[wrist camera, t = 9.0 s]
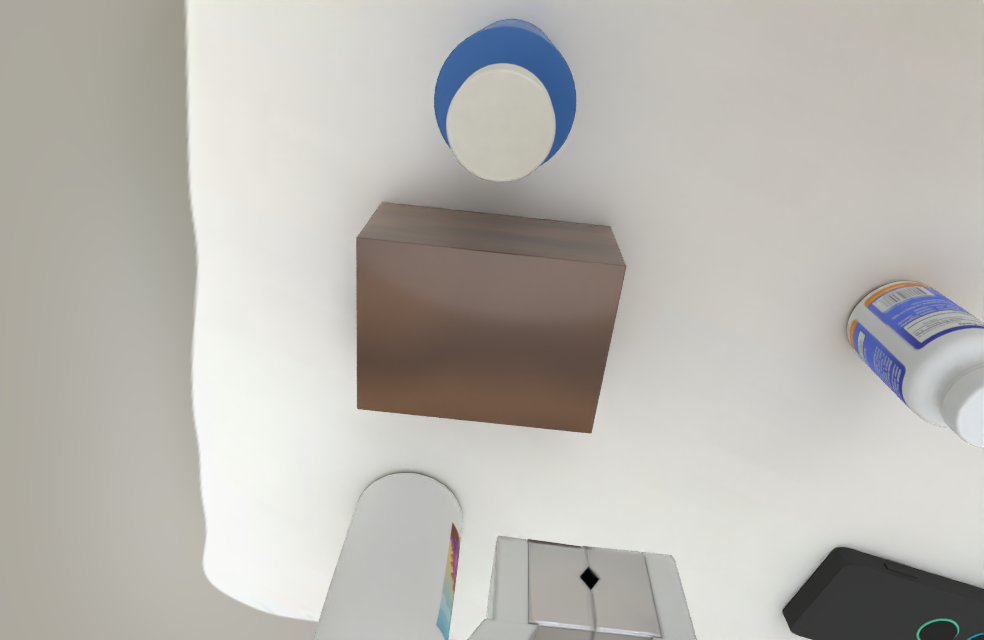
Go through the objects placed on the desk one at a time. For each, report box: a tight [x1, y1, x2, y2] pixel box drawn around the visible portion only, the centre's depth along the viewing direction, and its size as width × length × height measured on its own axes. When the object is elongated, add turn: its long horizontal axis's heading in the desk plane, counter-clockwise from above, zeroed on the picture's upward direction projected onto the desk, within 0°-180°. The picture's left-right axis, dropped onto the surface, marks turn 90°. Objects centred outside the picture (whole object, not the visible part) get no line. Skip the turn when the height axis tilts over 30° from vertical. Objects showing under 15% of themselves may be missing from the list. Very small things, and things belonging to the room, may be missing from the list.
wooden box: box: [357, 202, 626, 433], centre depth 35 cm, size 10×13×6 cm
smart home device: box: [783, 548, 984, 640], centre depth 47 cm, size 8×2×20 cm
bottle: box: [434, 19, 576, 182], centre depth 25 cm, size 14×5×15 cm
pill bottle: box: [847, 281, 984, 448], centre depth 33 cm, size 5×5×10 cm
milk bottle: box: [314, 473, 462, 640], centre depth 36 cm, size 8×8×20 cm
